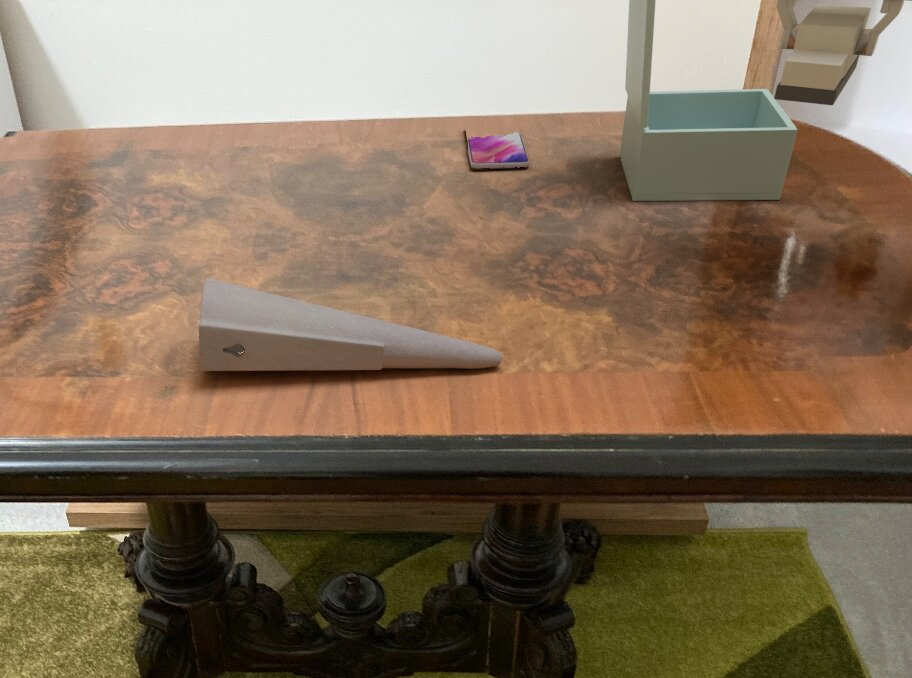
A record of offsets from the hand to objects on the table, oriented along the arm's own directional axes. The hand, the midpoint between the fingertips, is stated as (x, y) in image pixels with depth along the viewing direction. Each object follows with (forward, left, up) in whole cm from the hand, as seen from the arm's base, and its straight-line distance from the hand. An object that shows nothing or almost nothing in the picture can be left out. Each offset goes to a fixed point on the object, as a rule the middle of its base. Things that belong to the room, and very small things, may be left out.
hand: (826, 50), depth 80 cm
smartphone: (+27, -29, -19) cm, 44 cm away
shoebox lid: (+12, -19, -3) cm, 23 cm away
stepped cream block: (+1, +1, -2) cm, 3 cm away
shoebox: (+4, -19, -19) cm, 28 cm away
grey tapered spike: (+40, +20, -19) cm, 49 cm away
